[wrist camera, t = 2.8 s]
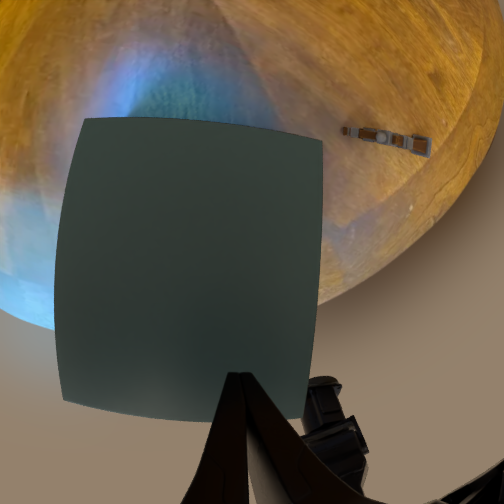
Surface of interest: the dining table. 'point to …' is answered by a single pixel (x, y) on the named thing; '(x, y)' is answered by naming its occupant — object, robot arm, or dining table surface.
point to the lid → (187, 265)
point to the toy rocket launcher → (393, 139)
